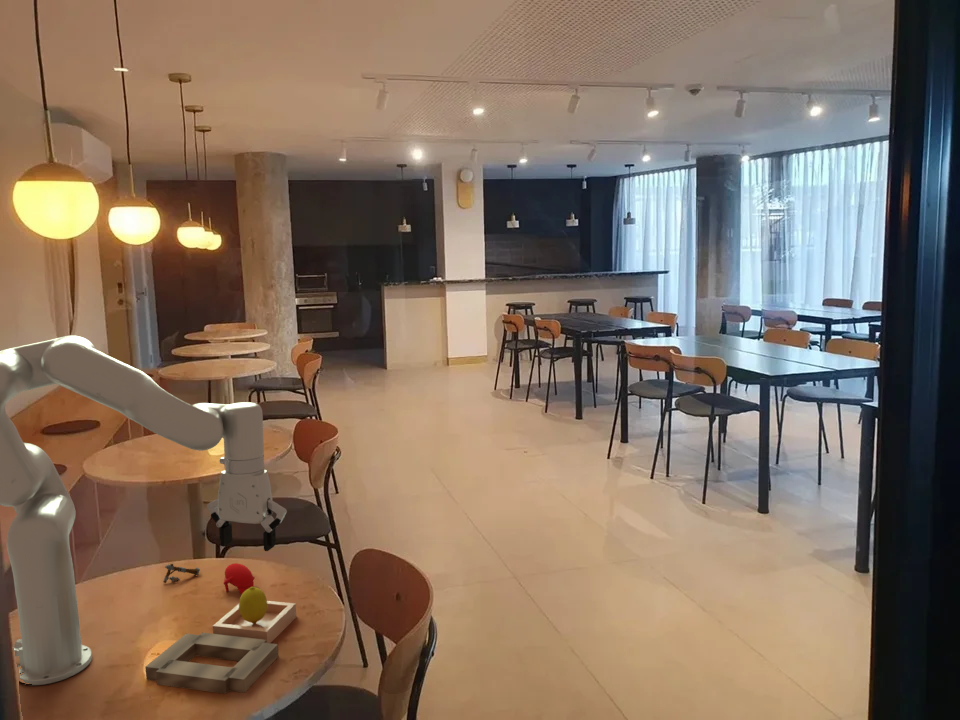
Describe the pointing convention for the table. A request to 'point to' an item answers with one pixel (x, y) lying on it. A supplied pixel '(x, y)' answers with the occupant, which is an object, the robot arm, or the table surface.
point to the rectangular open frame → (212, 678)
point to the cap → (238, 577)
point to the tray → (264, 629)
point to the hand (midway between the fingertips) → (247, 546)
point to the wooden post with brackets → (179, 569)
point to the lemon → (253, 605)
